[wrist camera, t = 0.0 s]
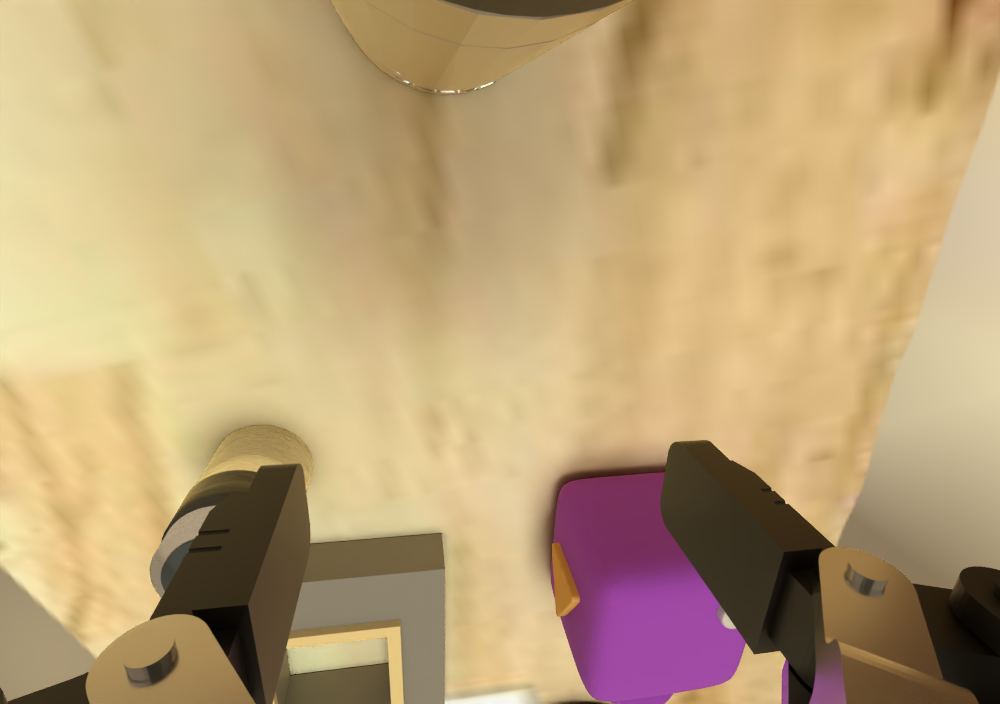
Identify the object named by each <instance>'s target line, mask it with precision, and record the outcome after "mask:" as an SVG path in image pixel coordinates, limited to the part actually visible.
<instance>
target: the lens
mask: <svg viewBox="0 0 1000 704" xmlns="http://www.w3.org/2000/svg"><path fill="white" fill-rule="evenodd" d="M296 463H300V464H301V465H302V467H303V471H304V479H305V487H306V492H307V489H308V485H309V482H310V478H311V474H312V470H313V461H312V456H311V454H310V451H309V450H308V448H307V446H306V445H305V444H304V443H303V441H302V440H301V439H299V438H298V437H297V436H296V435H294V434H292V433H291V432H289V431H287V430H285V429H282V428H279V427H275V426H268V425H254V426H248V427H244V428H241V429H239V430H237V431H235V432H233V433H231V434H230V435H229V436H227V437H226V438H225V439H224V440H223V441H222V443H221V444H220V446H219V447H218V449H217V451H216V452H215V454H214V456H213V457H212V459H211V461H210V462H209V464H208V466H207V467H206V469H205V471H204V472H203V474H202V476H201V477H200V479H199V481H198V482H197V484H196V485H195V486H194V487H193V488H192V489H191V490H190V491H189V493H188V495H187V496H186V498H185V500H184V501H183V503H182V504H181V506H180V508H179V509H178V511H177V513H176V514H175V516H174V518H173V519H172V521H171V523H170V524H169V526H168V528H167V529H166V531H165V533H164V535H163V537H162V541H161V544H160V546H159V547H158V549H157V551H156V552H155V554H154V556H153V558H152V561H151V565H150V578H151V582H152V584H153V587H154V588H155V590H156V592H157V593H158V594H159V595H160V597H161V598H162V596H163V595H164V593H165V591H166V589H167V587H168V586H169V584H170V582H171V580H172V578H173V576H174V575H175V573H176V571H177V569H178V567H179V566H180V564H181V562H182V560H183V558H184V557H185V555H186V553H189V548H190V546H191V544H192V542H193V540H194V539H195V537H196V536H198V531H199V530H200V528H201V526H202V524H203V522H204V520H205V519H206V517H207V515H208V513H209V511H210V510H212V509H213V508H214V507H215V506H216V505H217V504H219V503H220V502H221V501H222V500H223V499H225V498H226V497H227V496H228V495H229V494H230V493H240V492H248V490H249V488H250V486H251V484H252V482H253V480H254V478H255V475H256V473H257V471H258V469H259V468H260V466H263V465H279V464H296Z"/></svg>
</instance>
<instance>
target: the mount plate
mask: <svg viewBox="0 0 1000 704" xmlns="http://www.w3.org/2000/svg"><path fill="white" fill-rule="evenodd" d="M385 637H387V642H388V659H389V663H387V664H379V665H371V666H363V667H355V668H347V669H339V670H331V671H323V672H314V673H306V674H298V675H290V669H289V663H288V657H287V651H285V655H284V659H283V663H282V667H281V671H280V675H279V679H278V684H277V688H276V692H275V696H274V700H273V704H444V677H445V567H444V555H443V544H442V533H439V534H427V535H415V536H403V537H391V538H379V539H367V540H355V541H343V542H331V543H320V544H310V550H309V557H308V561H307V565H306V569H305V573H304V577H303V582H302V586H301V590H300V594H299V598H298V602H297V606H296V610H295V614H294V618H293V622H292V626H291V631H290V635H289V639H288V643H287V647H286V649H290V648H299V647H307V646H316V645H325V644H333V643H342V642H351V641H359V640H368V639H377V638H385Z"/></svg>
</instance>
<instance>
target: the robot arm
mask: <svg viewBox="0 0 1000 704" xmlns="http://www.w3.org/2000/svg"><path fill="white" fill-rule="evenodd" d="M631 1H633V0H331V2H332V3H333V5H334V7H335V9H336V11H337V13H338V14H339V16H340V18H341V20H342V21H343V23H344V25H345V27H346V28H347V30H348V31H349V33H350V34H351V36H352V37H353V39H354V40H355V42H356V43H357V45H358V46H359V48H360V49H361V50H362V51H363V52H364V54H365V55H366V56H367V57H368V58H369V59H370V60H371V61H372V62H373V63H374V64H375V65H376V66H377V67H378V68H379V69H381V70H382V71H384V72H385V73H386V74H388V75H389V76H391V77H392V78H394V79H395V80H397V81H398V82H400V83H402V84H405V85H407V86H409V87H412V88H414V89H417V90H419V91H423V92H429V93H435V94H440V95H445V94H462V93H466V92H469V91H473V90H477V89H480V88H483V87H485V86H488V85H490V84H492V83H494V82H496V80H497V79H499V78H501V77H503V76H505V75H507V74H509V73H510V72H512V71H514V70H515V69H517V68H519V67H521V66H522V65H524V64H526V63H527V62H529V61H531V60H533V59H534V58H536V57H538V56H539V55H541V54H543V53H545V52H546V51H548V50H550V49H551V48H553V47H555V46H557V45H558V44H560V43H562V42H563V41H565V40H567V39H569V38H570V37H572V36H574V35H575V34H577V33H579V32H581V31H582V30H584V29H586V28H587V27H589V26H591V25H593V24H594V23H596V22H597V21H599V20H600V19H602V18H604V17H605V16H607V15H609V14H610V13H612V12H614V11H616V10H617V9H619V8H621V7H622V6H624V5H626V4H628V3H629V2H631ZM660 509H661V515H662V518H663V521H664V524H665V526H666V528H667V529H668V531H669V532H670V533H671V535H672V536H673V538H674V539H675V541H676V542H677V544H678V545H679V546H680V548H681V549H682V551H683V552H684V554H685V555H686V557H687V558H688V559H689V561H690V562H691V564H692V565H693V567H694V568H695V570H696V571H697V572H698V574H699V575H700V577H701V578H702V580H703V581H704V583H705V584H706V585H707V587H708V588H709V590H710V591H711V593H712V594H713V595H714V597H715V598H716V600H717V601H718V603H719V604H720V606H721V607H722V608H723V610H724V611H725V613H726V614H727V616H728V617H729V619H730V620H731V621H732V623H733V624H734V626H735V627H736V629H737V630H738V632H739V633H740V634H741V636H742V637H743V639H744V640H745V642H746V643H747V644H748V646H749V647H750V649H751V650H752V652H753V653H754V654H760V653H768V652H775V651H781V653H782V654H783V655H784V657H785V658H786V661H785V664H784V667H783V670H782V704H1000V570H997V569H992V568H986V567H968V568H966V569H963V570H962V571H961V573H960V575H959V577H958V580H957V582H956V584H955V586H954V588H953V590H952V589H945V588H939V587H932V586H925V585H919V584H912V583H911V581H910V580H909V579H908V578H907V577H906V576H905V575H904V574H903V573H902V572H901V571H899V570H898V569H897V568H895V567H894V566H893V565H891V564H889V563H888V562H886V561H885V560H882V559H881V558H879V557H877V556H874V555H872V554H870V553H867V552H864V551H861V550H857V549H854V548H848V547H835V546H834V545H833V544H832V543H831V542H829V541H828V540H827V539H826V538H825V537H824V536H823V535H822V534H821V533H820V532H819V531H817V530H816V529H815V528H814V527H813V526H812V525H811V524H810V523H809V522H808V521H807V520H805V519H804V518H803V517H802V516H801V515H800V514H799V513H798V512H797V511H796V510H795V509H793V508H792V507H791V506H790V505H789V504H785V500H784V499H783V498H781V497H780V496H779V495H778V494H777V493H776V492H775V491H772V490H771V487H770V486H768V485H767V484H766V483H765V482H764V481H763V480H762V479H761V478H760V477H759V476H758V475H756V474H755V473H754V472H752V471H750V470H749V469H747V468H745V467H743V466H741V465H739V464H738V463H736V462H734V461H730V460H729V459H728V458H727V457H726V456H725V455H724V454H723V453H722V452H721V451H720V450H718V449H717V448H716V447H715V446H714V445H713V444H712V443H711V442H710V441H707V440H700V441H683V442H674V443H673V444H672V445H671V446H670V449H669V452H668V458H667V464H666V469H665V475H664V481H663V487H662V492H661V498H660ZM309 550H310V522H309V513H308V505H307V496H306V487H305V479H304V471H303V467H302V465H301V464H300V463H296V464H279V465H263V466H260V468H259V469H258V471H257V473H256V475H255V478H254V480H253V482H252V484H251V486H250V488H249V490H248V492H240V493H230V494H229V495H228V496H227V497H226V498H225V499H223V500H222V501H221V502H220V503H219V504H217V505H216V506H215V507H214V508H213V509H212V510H210V511H209V513H208V515H207V517H206V519H205V520H204V522H203V524H202V526H201V528H200V530H199V531H198V536H196V537H195V539H194V540H193V542H192V544H191V546H190V548H189V553H186V555H185V557H184V558H183V560H182V562H181V564H180V566H179V567H178V569H177V571H176V573H175V575H174V576H173V578H172V580H171V582H170V584H169V586H168V587H167V589H166V591H165V593H164V595H163V596H162V598H161V600H160V602H159V604H158V605H157V607H156V609H155V611H154V613H153V614H152V616H151V618H150V620H149V621H147V622H144V623H142V624H140V625H138V626H136V627H134V628H132V629H131V630H129V631H127V632H126V633H124V634H123V635H121V636H120V637H118V638H117V639H116V640H115V641H114V642H112V643H111V644H110V645H109V646H108V647H107V648H106V649H105V650H104V651H103V652H102V653H101V654H100V655H99V657H98V658H97V659H96V661H95V662H94V664H93V666H92V667H91V669H90V671H89V672H87V673H85V674H83V675H81V676H78V677H76V678H73V679H70V680H68V681H65V682H62V683H59V684H57V685H54V686H51V687H48V688H45V689H42V690H39V691H36V692H34V693H31V694H28V695H25V696H22V697H20V698H17V699H14V700H11V701H8V702H7V700H6V698H5V695H4V693H3V691H2V690H1V688H0V704H273V700H274V696H275V692H276V688H277V684H278V679H279V675H280V671H281V667H282V663H283V659H284V655H285V651H286V647H287V643H288V639H289V635H290V631H291V626H292V622H293V618H294V614H295V610H296V606H297V602H298V598H299V594H300V590H301V586H302V582H303V577H304V573H305V569H306V565H307V561H308V557H309Z"/></svg>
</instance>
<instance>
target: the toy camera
mask: <svg viewBox="0 0 1000 704" xmlns="http://www.w3.org/2000/svg"><path fill="white" fill-rule="evenodd" d="M664 475H665V472H659V473H645V474H633V475H621V476H609V477H597V478H587V479H580V480H575V481H571V482H568V483H566V484H565V485H564V486H563V487H562V489H561V490H560V493H559V496H558V501H557V507H556V517H555V527H554V539H553V544H552V563H551V584H552V589H553V594H554V597H555V604H556V614H557V616H559V617H561V620H562V623H563V627H564V630H565V633H566V636H567V639H568V642H569V645H570V648H571V651H572V654H573V657H574V660H575V663H576V666H577V669H578V672H579V674H580V677H581V679H582V682H583V684H584V686H585V688H586V689H587V691H588V692H589V694H590V695H591V696H592V697H593V698H595V699H597V700H600V701H608V702H612V703H613V704H665V703H666V702H667V701H668V700H669V699H670V697H671V696H672V695H673V693H678V692H684V691H690V690H696V689H701V688H706V687H711V686H715V685H719V684H722V683H724V682H726V681H728V680H729V679H731V678H732V676H733V675H734V674H735V672H736V670H737V667H738V665H739V662H740V659H741V656H742V653H743V650H744V647H745V644H746V642H745V640H744V639H743V637H742V636H741V634H740V633H739V632H738V630H737V629H736V627H735V626H734V624H733V623H732V621H731V620H730V619H729V617H728V616H727V614H726V613H725V611H724V610H723V608H722V607H721V606H720V604H719V603H718V601H717V600H716V598H715V597H714V595H713V594H712V593H711V591H710V590H709V588H708V587H707V585H706V584H705V583H704V581H703V580H702V578H701V577H700V575H699V574H698V572H697V571H696V570H695V568H694V567H693V565H692V564H691V562H690V561H689V559H688V558H687V557H686V555H685V554H684V552H683V551H682V549H681V548H680V546H679V545H678V544H677V542H676V541H675V539H674V538H673V536H672V535H671V533H670V532H669V531H668V529H667V528H666V526H665V524H664V521H663V518H662V515H661V509H660V498H661V492H662V487H663V481H664Z"/></svg>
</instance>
